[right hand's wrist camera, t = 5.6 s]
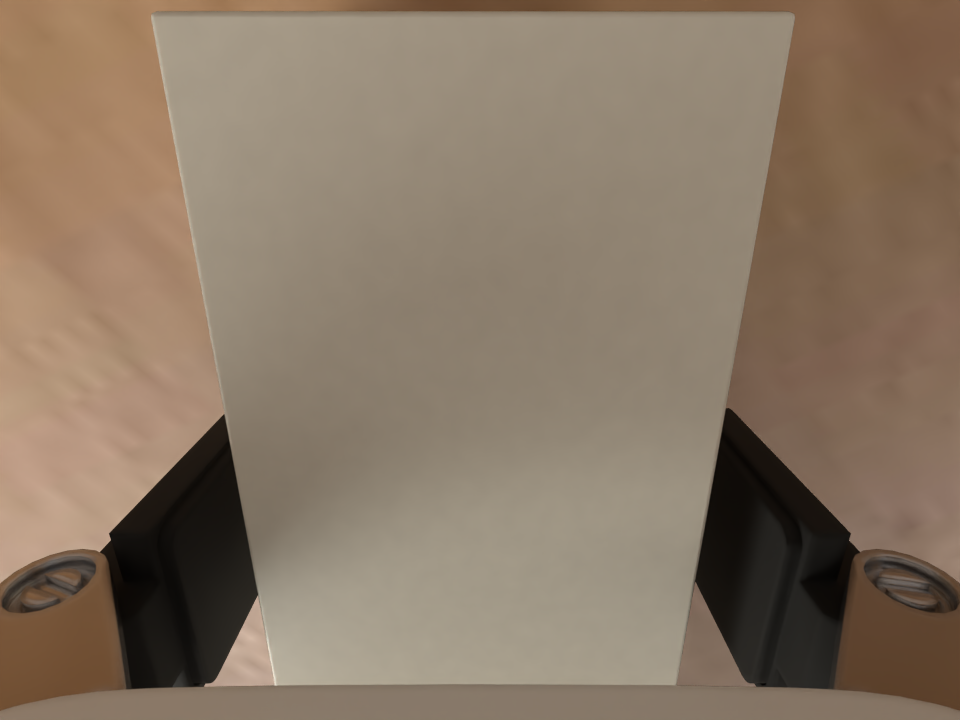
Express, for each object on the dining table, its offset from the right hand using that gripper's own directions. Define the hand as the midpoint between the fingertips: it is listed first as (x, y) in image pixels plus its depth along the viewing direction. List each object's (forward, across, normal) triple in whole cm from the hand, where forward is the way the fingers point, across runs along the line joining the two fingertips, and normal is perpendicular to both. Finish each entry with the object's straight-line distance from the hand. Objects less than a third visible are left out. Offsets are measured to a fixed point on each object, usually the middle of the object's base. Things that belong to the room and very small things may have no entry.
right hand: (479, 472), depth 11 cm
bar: (+2, 0, -30) cm, 30 cm away
